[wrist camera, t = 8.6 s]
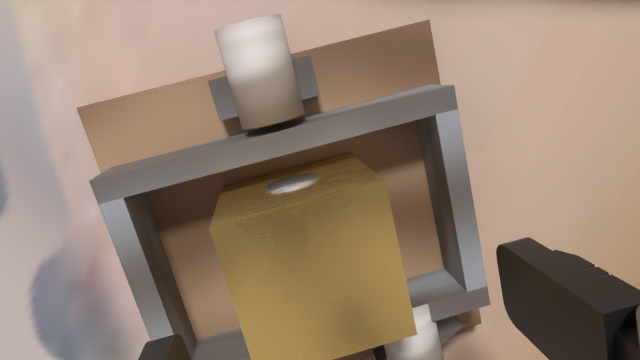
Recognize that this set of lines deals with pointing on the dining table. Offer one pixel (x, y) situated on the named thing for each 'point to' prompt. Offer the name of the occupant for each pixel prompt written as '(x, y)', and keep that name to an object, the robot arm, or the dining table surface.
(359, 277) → the yellow cube
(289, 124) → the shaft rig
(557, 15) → the dining table surface
